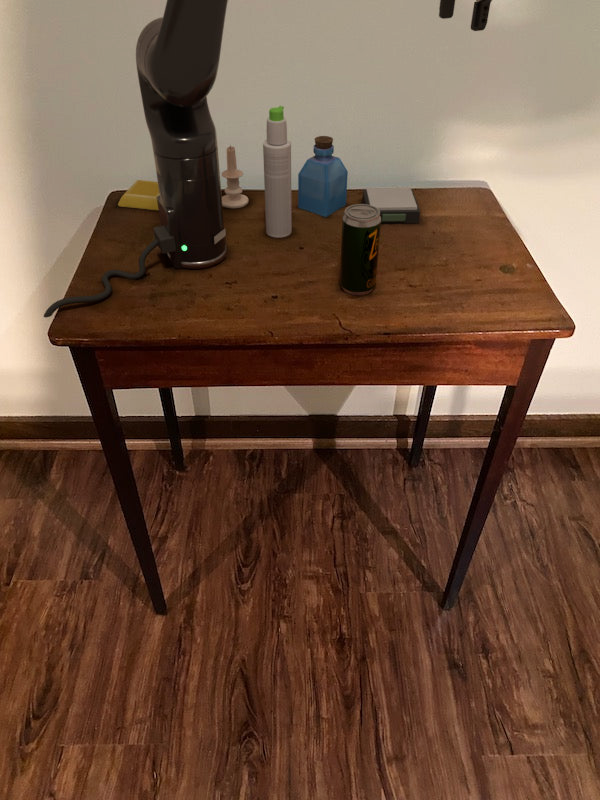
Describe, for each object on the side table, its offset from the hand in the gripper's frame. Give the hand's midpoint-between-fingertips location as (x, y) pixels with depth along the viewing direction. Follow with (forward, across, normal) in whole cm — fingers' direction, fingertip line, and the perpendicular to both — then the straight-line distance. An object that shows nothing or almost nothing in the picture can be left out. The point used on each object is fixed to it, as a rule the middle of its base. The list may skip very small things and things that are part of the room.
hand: (461, 23), depth 101 cm
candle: (+30, -16, -33) cm, 47 cm away
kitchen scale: (+29, -1, -9) cm, 31 cm away
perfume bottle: (+30, -8, -19) cm, 36 cm away
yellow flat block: (+27, -24, -47) cm, 59 cm away
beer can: (+30, +19, -26) cm, 44 cm away
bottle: (+30, -2, -30) cm, 42 cm away
